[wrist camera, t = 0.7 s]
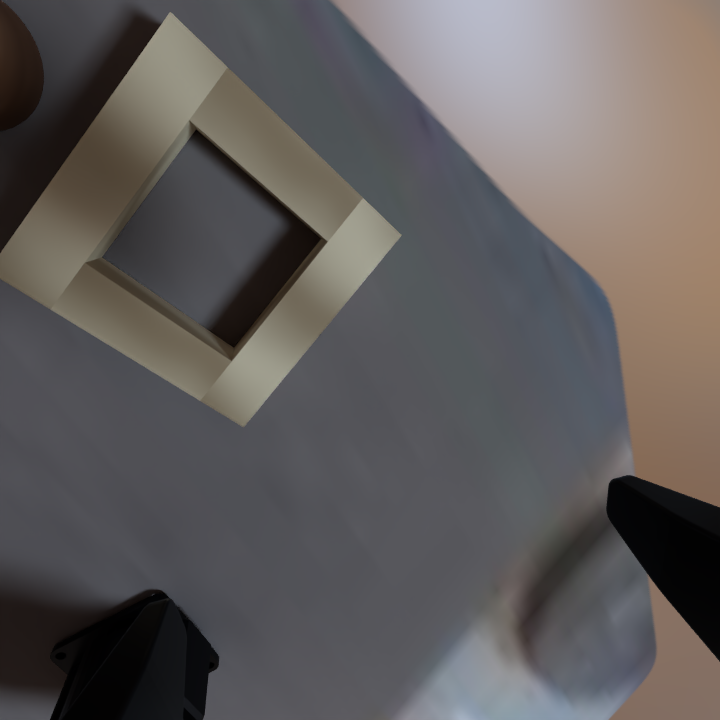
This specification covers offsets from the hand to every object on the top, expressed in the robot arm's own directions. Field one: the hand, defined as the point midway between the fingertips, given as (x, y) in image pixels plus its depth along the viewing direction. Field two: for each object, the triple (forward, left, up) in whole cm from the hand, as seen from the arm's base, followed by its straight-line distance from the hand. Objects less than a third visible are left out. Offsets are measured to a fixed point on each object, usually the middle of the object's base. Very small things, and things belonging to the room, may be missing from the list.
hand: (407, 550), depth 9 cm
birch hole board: (-2, +6, -14) cm, 15 cm away
